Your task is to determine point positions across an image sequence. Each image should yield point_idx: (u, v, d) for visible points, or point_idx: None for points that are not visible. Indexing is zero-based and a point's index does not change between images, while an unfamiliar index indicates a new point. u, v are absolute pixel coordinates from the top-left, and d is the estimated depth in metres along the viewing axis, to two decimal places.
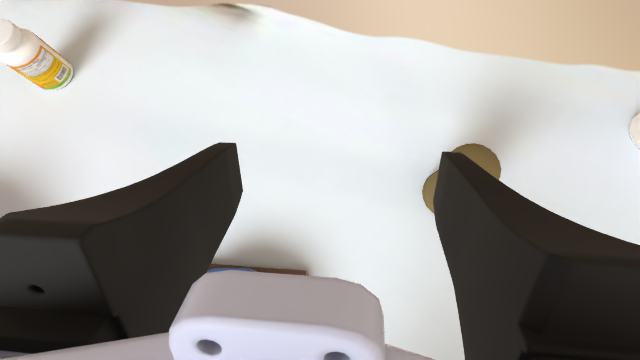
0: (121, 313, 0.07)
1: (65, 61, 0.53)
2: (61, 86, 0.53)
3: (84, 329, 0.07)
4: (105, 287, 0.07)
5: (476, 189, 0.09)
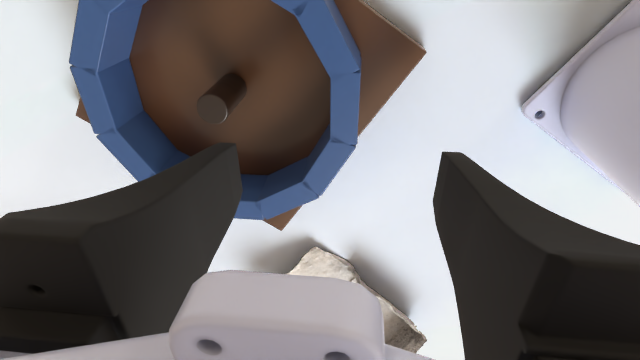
0: (121, 313, 0.07)
1: None
2: None
3: (84, 329, 0.07)
4: (105, 287, 0.07)
5: (476, 189, 0.09)
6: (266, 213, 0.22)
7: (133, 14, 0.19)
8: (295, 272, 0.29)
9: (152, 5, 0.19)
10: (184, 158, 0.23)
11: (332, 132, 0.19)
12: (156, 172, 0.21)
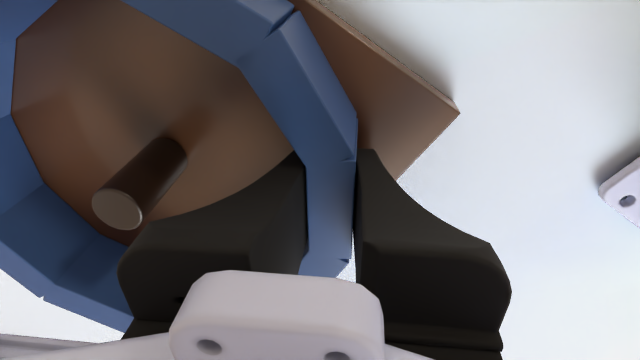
0: None
1: None
2: None
3: None
4: None
5: (362, 183, 0.10)
6: None
7: None
8: None
9: (31, 38, 0.12)
10: (108, 247, 0.17)
11: (311, 242, 0.12)
12: (55, 281, 0.14)
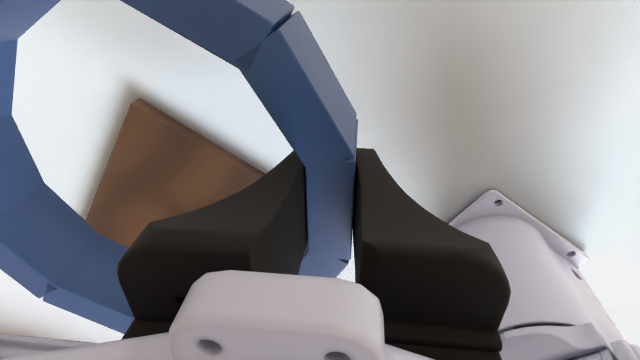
0: None
1: None
2: None
3: None
4: None
5: (361, 183, 0.10)
6: None
7: None
8: None
9: (133, 187, 0.26)
10: (108, 248, 0.17)
11: (311, 242, 0.12)
12: (55, 281, 0.14)
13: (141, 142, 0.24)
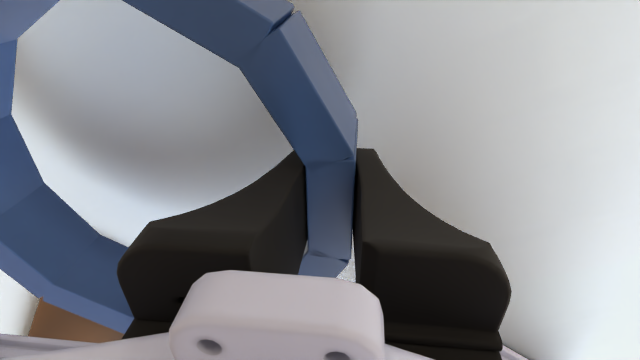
0: None
1: None
2: None
3: None
4: None
5: (362, 183, 0.10)
6: None
7: None
8: None
9: (72, 313, 0.24)
10: (107, 247, 0.17)
11: (311, 242, 0.12)
12: (54, 281, 0.14)
13: None
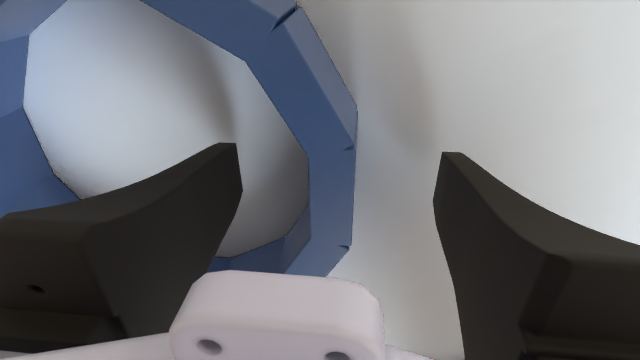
0: (121, 313, 0.07)
1: None
2: None
3: (84, 329, 0.07)
4: (105, 287, 0.07)
5: (476, 189, 0.09)
6: None
7: (11, 50, 0.12)
8: None
9: None
10: None
11: (313, 229, 0.12)
12: None
13: None
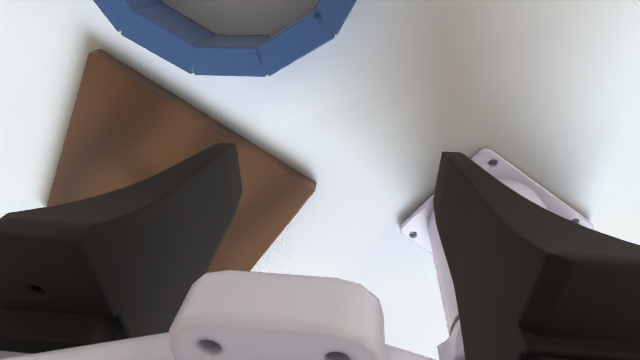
0: (121, 313, 0.07)
1: None
2: None
3: (84, 329, 0.07)
4: (105, 287, 0.07)
5: (476, 189, 0.09)
6: (268, 65, 0.18)
7: None
8: None
9: (98, 151, 0.24)
10: (170, 11, 0.19)
11: None
12: (133, 9, 0.17)
13: (103, 98, 0.22)
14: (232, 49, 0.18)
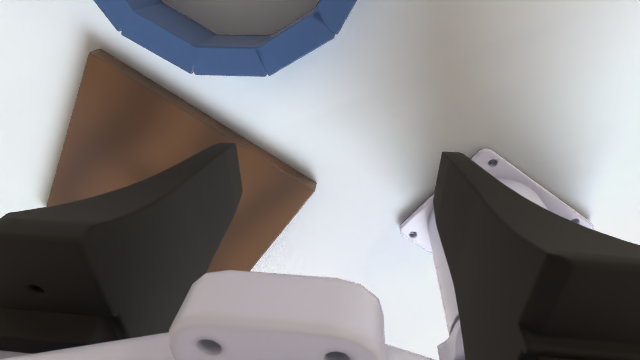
0: (121, 313, 0.07)
1: None
2: None
3: (84, 329, 0.07)
4: (105, 287, 0.07)
5: (476, 189, 0.09)
6: (269, 65, 0.18)
7: None
8: None
9: (98, 150, 0.24)
10: (170, 11, 0.19)
11: None
12: (134, 9, 0.17)
13: (103, 98, 0.22)
14: (232, 49, 0.18)
